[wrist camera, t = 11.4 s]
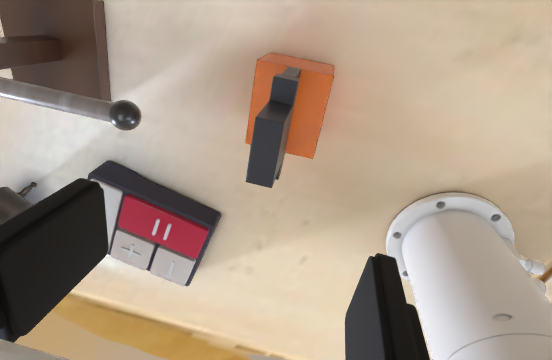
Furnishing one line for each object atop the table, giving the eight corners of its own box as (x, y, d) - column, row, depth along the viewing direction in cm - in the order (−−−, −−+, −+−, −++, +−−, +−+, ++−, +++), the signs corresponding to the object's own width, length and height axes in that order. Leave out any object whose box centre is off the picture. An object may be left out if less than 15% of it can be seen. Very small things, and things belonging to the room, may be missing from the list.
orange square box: (334, 65, 29) (333, 104, 16) (316, 136, 33) (303, 218, 19) (270, 52, 30) (217, 79, 16) (259, 123, 33) (207, 194, 20)
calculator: (186, 292, 41) (72, 245, 39) (197, 268, 45) (93, 225, 43) (213, 231, 36) (83, 175, 34) (223, 210, 39) (106, 158, 38)
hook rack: (219, 24, 29) (76, 32, 13) (211, 127, 34) (98, 226, 18) (6, -19, 31) (-362, -61, 15) (26, 85, 36) (-235, 142, 19)
